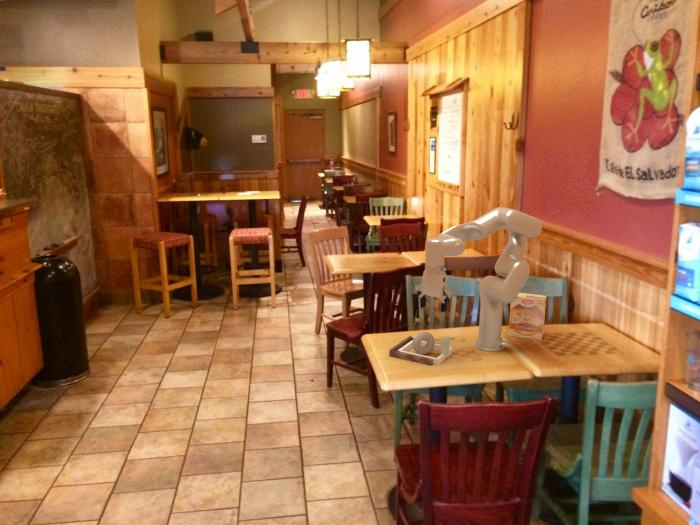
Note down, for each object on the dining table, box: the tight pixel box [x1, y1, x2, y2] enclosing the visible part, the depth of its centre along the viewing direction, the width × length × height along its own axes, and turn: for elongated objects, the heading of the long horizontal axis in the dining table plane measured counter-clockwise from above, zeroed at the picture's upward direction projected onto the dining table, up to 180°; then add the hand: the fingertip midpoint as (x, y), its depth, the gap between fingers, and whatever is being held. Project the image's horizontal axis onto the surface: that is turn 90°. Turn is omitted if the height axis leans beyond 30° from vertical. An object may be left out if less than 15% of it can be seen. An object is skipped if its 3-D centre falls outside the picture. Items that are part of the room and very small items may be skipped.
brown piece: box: [388, 335, 451, 366], centre depth 250 cm, size 19×20×3 cm
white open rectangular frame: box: [398, 335, 454, 366], centre depth 248 cm, size 19×16×9 cm
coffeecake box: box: [507, 292, 547, 341], centre depth 271 cm, size 15×7×20 cm, turn 68°
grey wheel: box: [412, 331, 436, 355], centre depth 248 cm, size 10×4×10 cm, turn 105°
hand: (433, 309), depth 242 cm, fingers open, 9 cm apart
